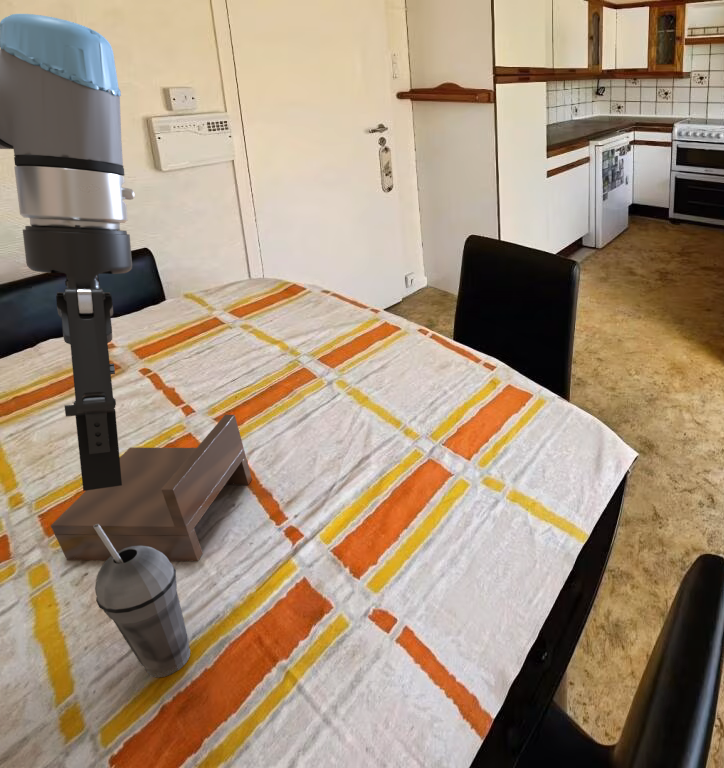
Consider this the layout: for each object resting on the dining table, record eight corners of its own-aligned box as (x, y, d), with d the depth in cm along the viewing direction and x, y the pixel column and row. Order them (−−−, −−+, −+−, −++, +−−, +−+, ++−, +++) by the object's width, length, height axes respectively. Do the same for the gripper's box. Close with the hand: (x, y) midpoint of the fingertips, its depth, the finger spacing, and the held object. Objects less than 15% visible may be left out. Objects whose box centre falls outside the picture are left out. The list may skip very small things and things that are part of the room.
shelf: (66, 560, 84) (32, 488, 78) (141, 478, 99) (117, 414, 94) (197, 561, 83) (172, 489, 77) (252, 479, 99) (234, 414, 93)
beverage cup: (209, 666, 69) (157, 526, 59) (135, 701, 65) (67, 558, 56) (197, 622, 74) (147, 487, 64) (127, 652, 70) (64, 514, 61)
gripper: (140, 229, 45) (161, 502, 50) (121, 226, 65) (137, 422, 70) (8, 222, 41) (44, 522, 45) (30, 221, 61) (54, 430, 65)
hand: (100, 462), depth 58 cm, fingers open, 13 cm apart
